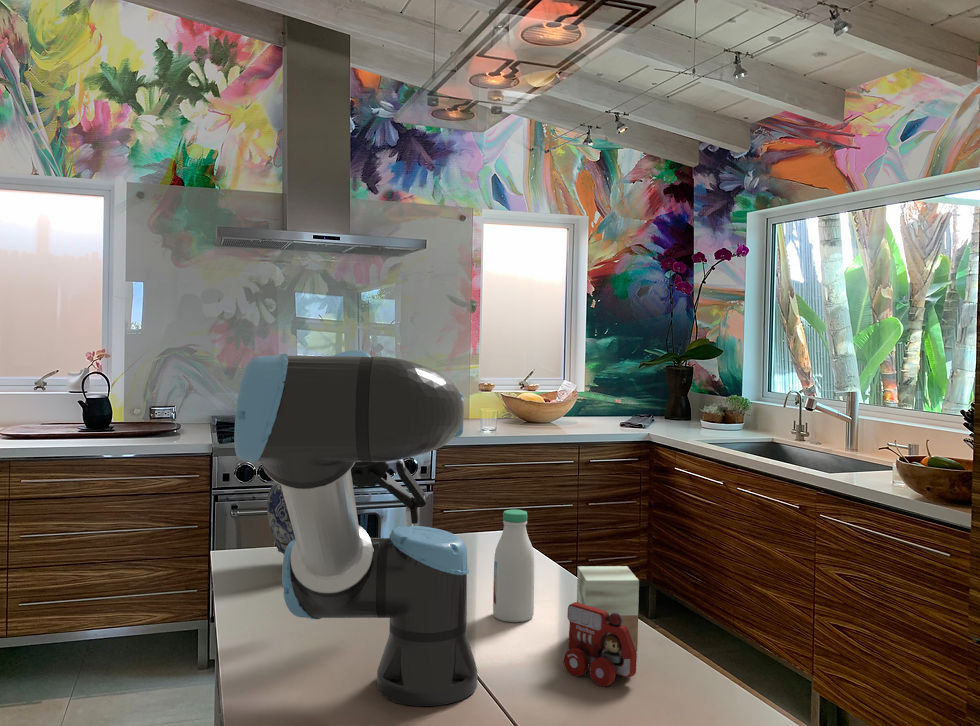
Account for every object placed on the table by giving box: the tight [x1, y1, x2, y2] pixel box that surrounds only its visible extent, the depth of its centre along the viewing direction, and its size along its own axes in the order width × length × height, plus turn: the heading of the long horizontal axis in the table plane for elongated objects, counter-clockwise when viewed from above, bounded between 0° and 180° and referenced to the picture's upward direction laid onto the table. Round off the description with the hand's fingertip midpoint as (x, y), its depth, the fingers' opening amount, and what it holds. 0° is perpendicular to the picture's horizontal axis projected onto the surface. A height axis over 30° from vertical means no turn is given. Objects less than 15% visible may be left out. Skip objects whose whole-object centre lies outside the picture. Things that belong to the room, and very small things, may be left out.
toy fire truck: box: [563, 601, 638, 687], centre depth 128 cm, size 7×12×10 cm, turn 47°
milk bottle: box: [492, 509, 535, 623], centre depth 154 cm, size 8×8×20 cm
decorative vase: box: [266, 481, 295, 555], centre depth 183 cm, size 21×19×28 cm
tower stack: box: [576, 565, 640, 651], centre depth 142 cm, size 8×9×12 cm
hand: (374, 540), depth 150 cm, fingers open, 13 cm apart
